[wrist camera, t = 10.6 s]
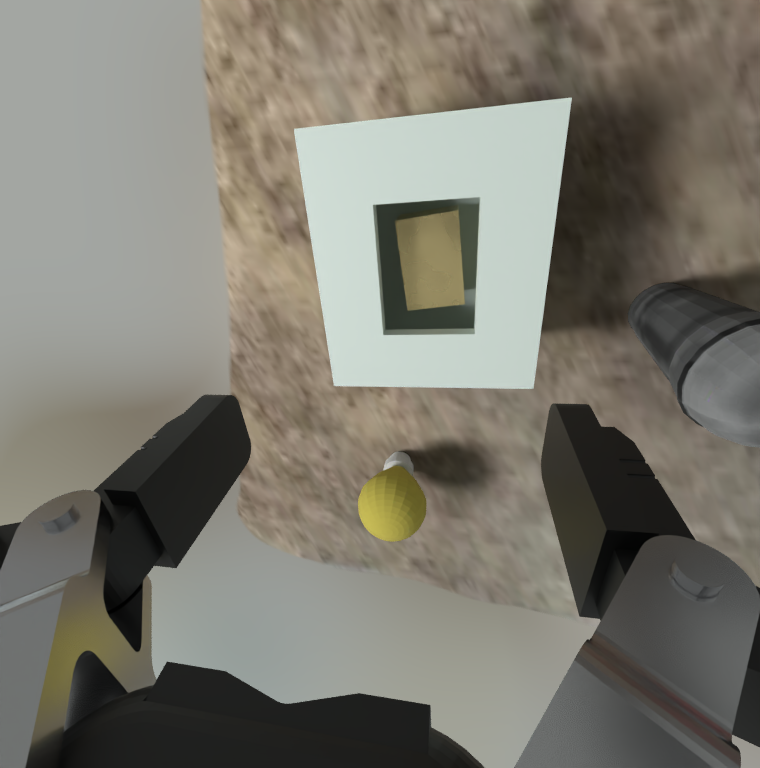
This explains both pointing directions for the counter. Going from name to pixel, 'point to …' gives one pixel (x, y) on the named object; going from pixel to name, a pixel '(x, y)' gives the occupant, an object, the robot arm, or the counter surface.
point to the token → (431, 258)
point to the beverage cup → (705, 356)
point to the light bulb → (393, 501)
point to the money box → (477, 234)
